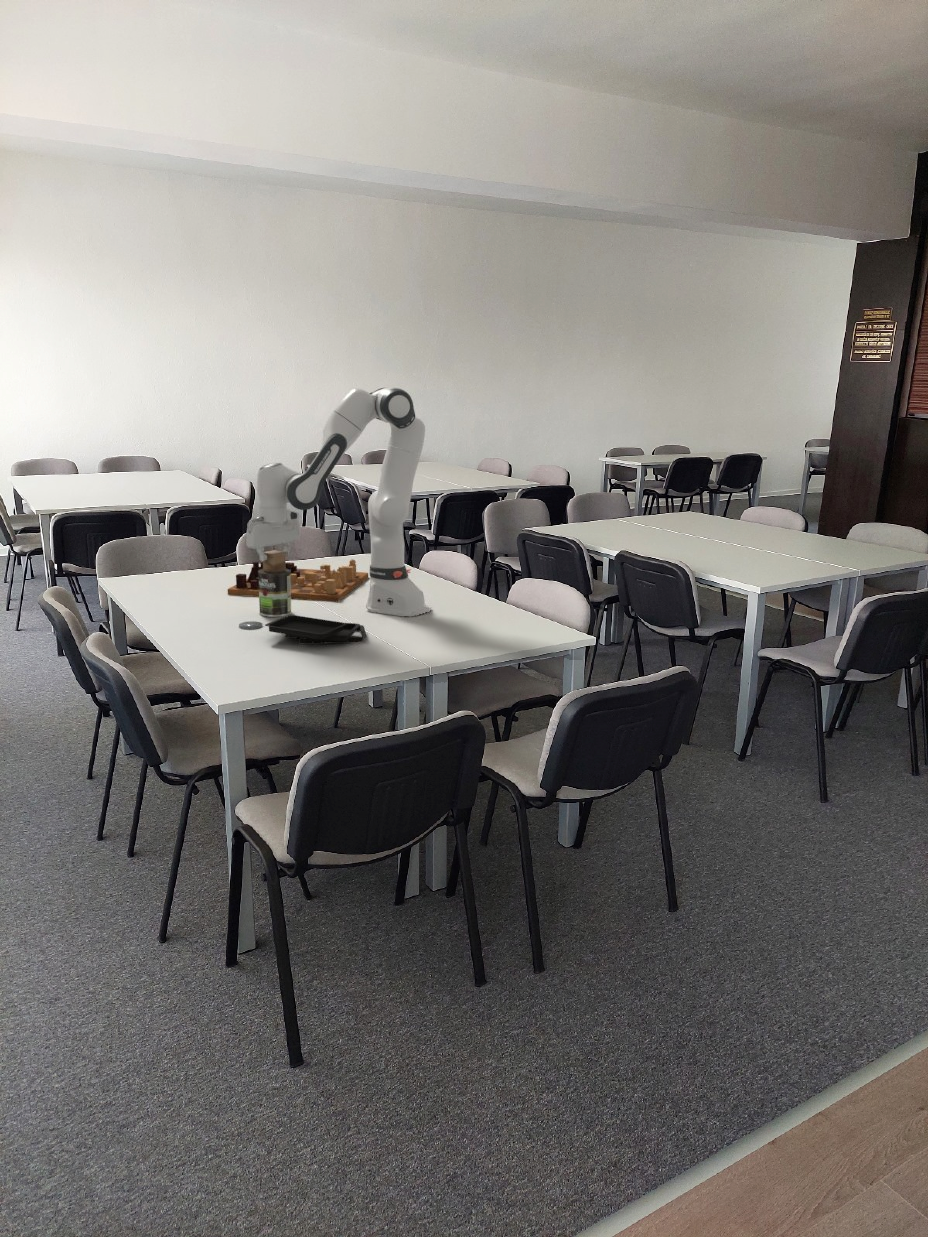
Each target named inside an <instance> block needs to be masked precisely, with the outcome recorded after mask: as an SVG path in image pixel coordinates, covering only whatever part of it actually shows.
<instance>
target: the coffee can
mask: <svg viewBox="0 0 928 1237" xmlns="http://www.w3.org/2000/svg"><path fill="white" fill-rule="evenodd" d="M290 573H291V570H289V569H286V571H282V572H277V573H272V572H266V571H263V569H261V570H259V571H258V574H259V596H258V598H259V600H258V602H259V613H258V614H259V615H260V616H263V617H266V616H267V618H268V617H269V618H283V617H286V616H289V615H292V599H291V577H290Z"/></svg>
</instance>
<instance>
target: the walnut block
mask: <svg viewBox="0 0 928 1237" xmlns="http://www.w3.org/2000/svg"><path fill="white" fill-rule="evenodd" d="M263 552H264V554H265V555H267V561H262V562H263V571H266V572H272V573H277V572H282V571H286V562H287V561H286V557H285V552H282V550H281V551H280V550H275V549H274V550H268V551H263Z"/></svg>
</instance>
